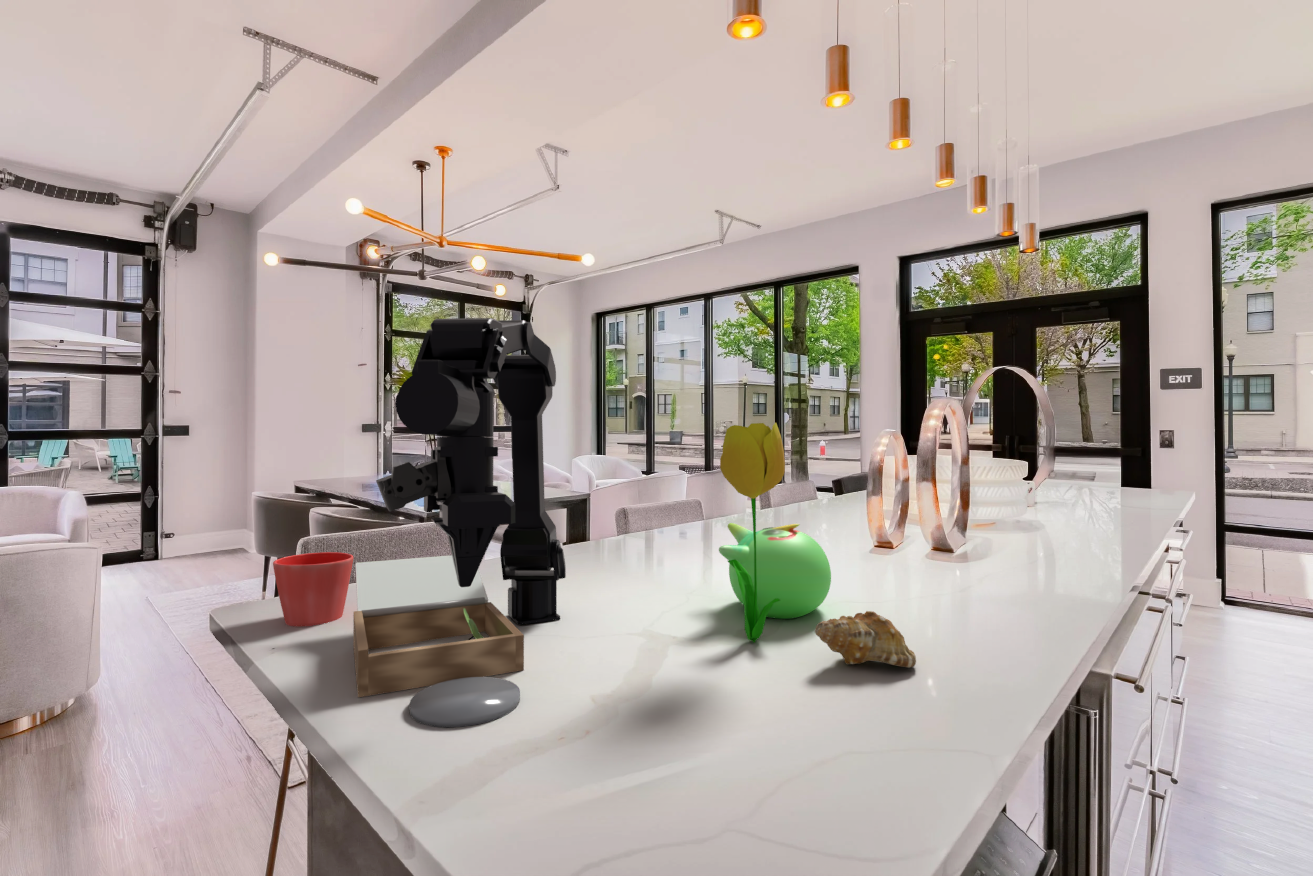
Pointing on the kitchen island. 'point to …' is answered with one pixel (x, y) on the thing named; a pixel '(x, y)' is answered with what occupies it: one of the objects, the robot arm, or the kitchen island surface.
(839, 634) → the seashell
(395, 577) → the lid
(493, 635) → the box
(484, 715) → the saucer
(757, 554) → the round green toy
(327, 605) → the flower pot
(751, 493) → the flower
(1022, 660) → the kitchen island surface
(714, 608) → the kitchen island surface
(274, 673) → the kitchen island surface
